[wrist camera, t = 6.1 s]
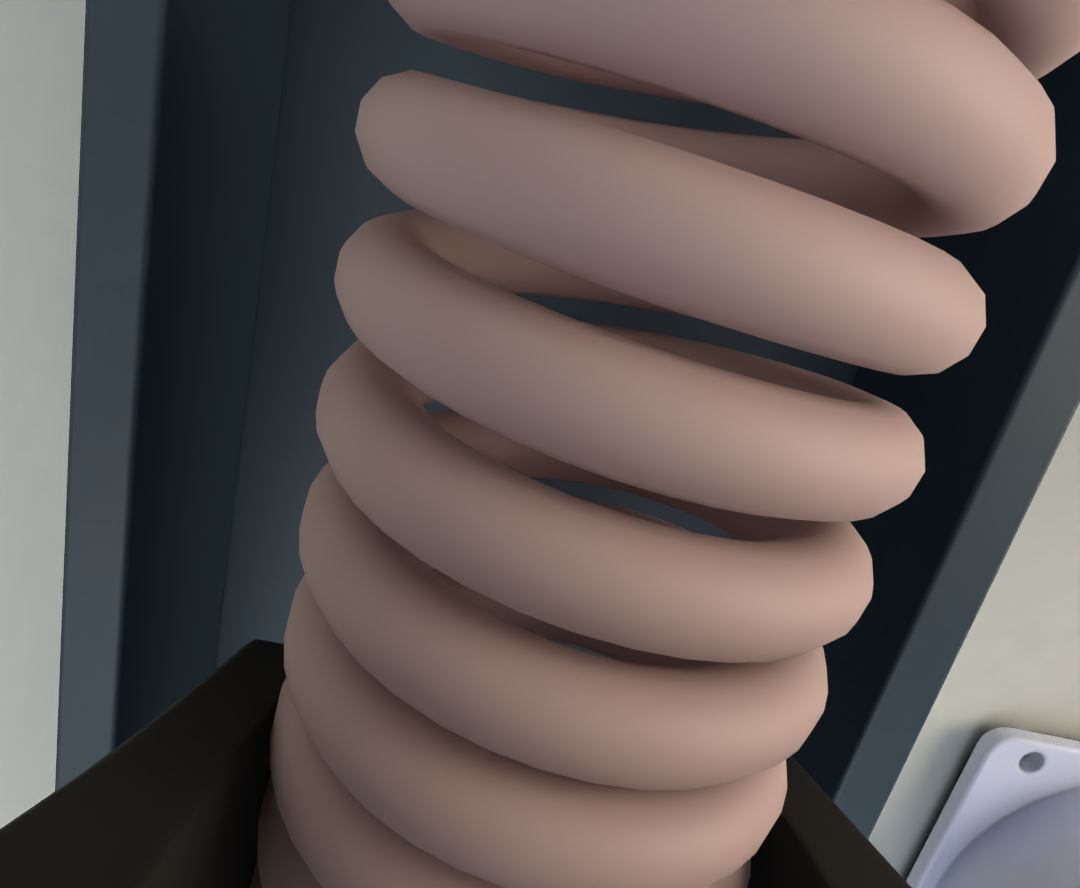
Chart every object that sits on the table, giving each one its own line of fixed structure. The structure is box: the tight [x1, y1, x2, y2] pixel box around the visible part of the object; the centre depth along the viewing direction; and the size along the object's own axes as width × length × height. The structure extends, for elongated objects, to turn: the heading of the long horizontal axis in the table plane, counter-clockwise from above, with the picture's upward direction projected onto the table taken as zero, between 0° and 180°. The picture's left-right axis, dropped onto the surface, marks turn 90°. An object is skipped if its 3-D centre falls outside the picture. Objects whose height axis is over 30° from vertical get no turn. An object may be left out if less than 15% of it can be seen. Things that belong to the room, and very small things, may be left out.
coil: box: [250, 0, 1080, 888], centre depth 8 cm, size 5×5×18 cm
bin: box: [55, 0, 1080, 840], centre depth 12 cm, size 12×22×4 cm, turn 167°
